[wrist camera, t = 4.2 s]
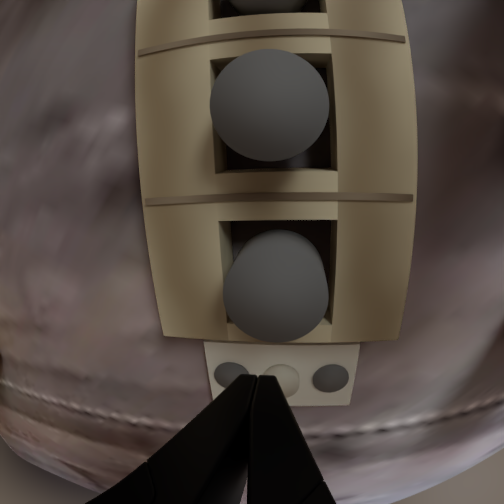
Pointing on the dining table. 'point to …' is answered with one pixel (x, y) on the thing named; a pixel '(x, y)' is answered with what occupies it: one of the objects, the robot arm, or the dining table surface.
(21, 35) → the dining table surface
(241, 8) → the button
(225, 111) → the button middle
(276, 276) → the button
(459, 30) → the dining table surface
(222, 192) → the board
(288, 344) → the card
